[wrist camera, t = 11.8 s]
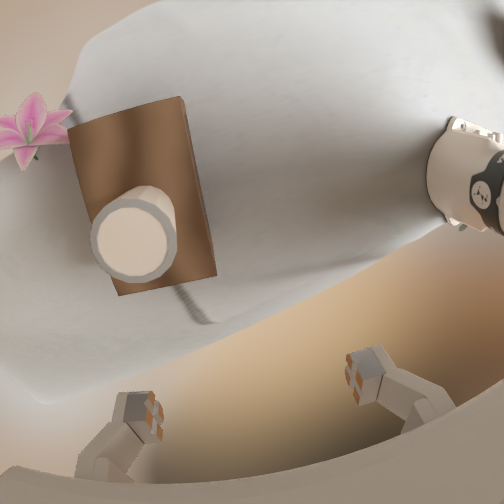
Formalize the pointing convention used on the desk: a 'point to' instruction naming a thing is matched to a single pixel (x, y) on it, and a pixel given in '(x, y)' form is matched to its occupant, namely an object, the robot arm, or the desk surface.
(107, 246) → the cream tapered cup
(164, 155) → the walnut shelf
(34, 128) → the lily
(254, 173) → the desk surface
